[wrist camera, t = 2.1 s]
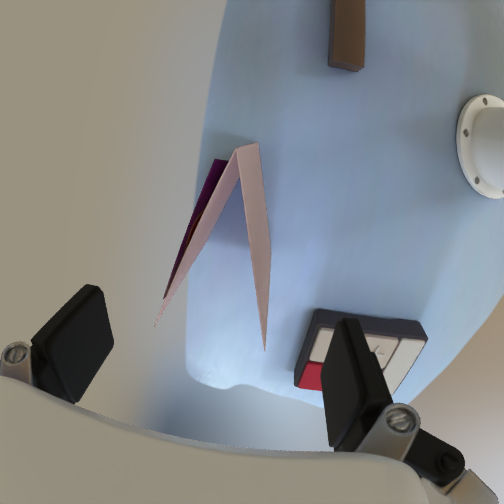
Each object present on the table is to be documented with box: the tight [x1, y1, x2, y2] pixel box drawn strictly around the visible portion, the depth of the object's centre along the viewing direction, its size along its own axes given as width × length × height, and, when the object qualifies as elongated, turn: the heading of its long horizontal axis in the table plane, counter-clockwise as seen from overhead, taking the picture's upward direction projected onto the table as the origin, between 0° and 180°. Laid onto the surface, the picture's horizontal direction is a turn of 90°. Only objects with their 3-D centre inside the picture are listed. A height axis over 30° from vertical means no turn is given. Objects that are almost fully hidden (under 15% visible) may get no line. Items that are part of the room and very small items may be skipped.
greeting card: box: [154, 142, 271, 351], centre depth 21 cm, size 11×7×15 cm, turn 152°
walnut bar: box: [328, 0, 365, 72], centre depth 19 cm, size 3×12×2 cm, turn 175°
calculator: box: [294, 309, 428, 395], centre depth 33 cm, size 11×4×15 cm
